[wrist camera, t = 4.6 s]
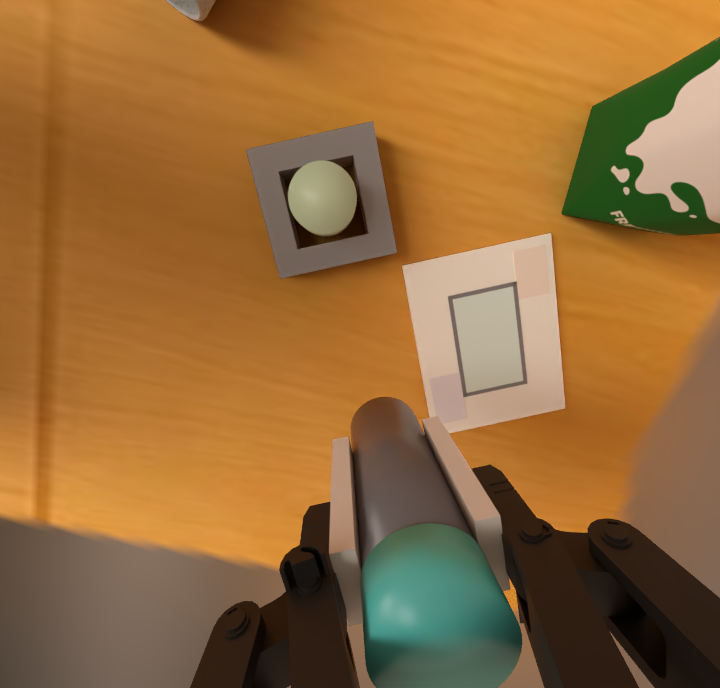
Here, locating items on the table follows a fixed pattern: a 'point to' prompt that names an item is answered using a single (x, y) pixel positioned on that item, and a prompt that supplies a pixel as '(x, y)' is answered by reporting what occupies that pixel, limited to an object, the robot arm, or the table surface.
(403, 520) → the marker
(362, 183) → the button housing
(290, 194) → the button cap
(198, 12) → the ceramic mug
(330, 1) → the table surface
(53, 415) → the table surface
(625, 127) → the milk carton
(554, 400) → the sheet
